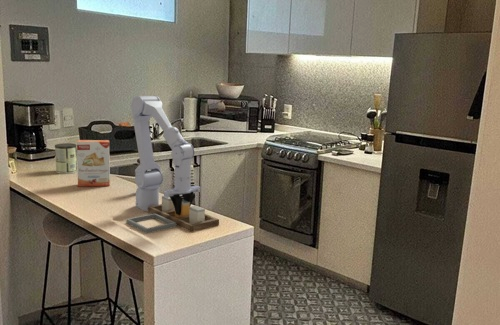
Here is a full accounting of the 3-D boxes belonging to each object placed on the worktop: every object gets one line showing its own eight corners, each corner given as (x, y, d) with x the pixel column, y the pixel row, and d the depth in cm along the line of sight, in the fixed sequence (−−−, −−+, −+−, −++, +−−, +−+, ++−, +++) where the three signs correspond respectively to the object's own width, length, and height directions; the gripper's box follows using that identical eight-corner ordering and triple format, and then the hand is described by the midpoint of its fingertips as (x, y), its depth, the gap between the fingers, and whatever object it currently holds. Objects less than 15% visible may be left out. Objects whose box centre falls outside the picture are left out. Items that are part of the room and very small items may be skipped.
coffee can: (61, 169, 254) (60, 142, 251) (80, 170, 253) (79, 143, 250) (52, 173, 244) (50, 145, 241) (71, 174, 243) (70, 146, 240)
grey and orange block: (174, 216, 176) (175, 200, 175) (181, 214, 178) (181, 199, 177) (182, 219, 173) (182, 203, 172) (189, 218, 175) (189, 202, 174)
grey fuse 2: (189, 223, 170) (189, 207, 169) (196, 221, 172) (196, 205, 171) (197, 227, 166) (197, 210, 165) (204, 225, 168) (204, 208, 167)
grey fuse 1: (161, 211, 183) (161, 196, 182) (168, 210, 185) (168, 194, 184) (169, 214, 179) (169, 199, 178) (175, 213, 181) (175, 197, 180)
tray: (126, 225, 168) (126, 219, 168) (155, 219, 176) (155, 213, 175) (146, 235, 158) (146, 229, 158) (176, 228, 166) (176, 222, 166)
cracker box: (77, 187, 217) (76, 141, 213) (78, 184, 223) (77, 139, 219) (110, 186, 221) (109, 141, 217) (110, 183, 227) (109, 139, 223)
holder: (148, 213, 182) (147, 206, 181) (174, 208, 190) (174, 201, 189) (191, 233, 162) (191, 225, 161) (219, 227, 170) (219, 219, 169)
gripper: (171, 181, 165) (171, 219, 168) (205, 176, 175) (204, 212, 177) (160, 177, 170) (160, 214, 173) (194, 173, 180) (193, 208, 182)
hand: (182, 213), depth 175 cm, fingers closed on grey and orange block, 3 cm apart
